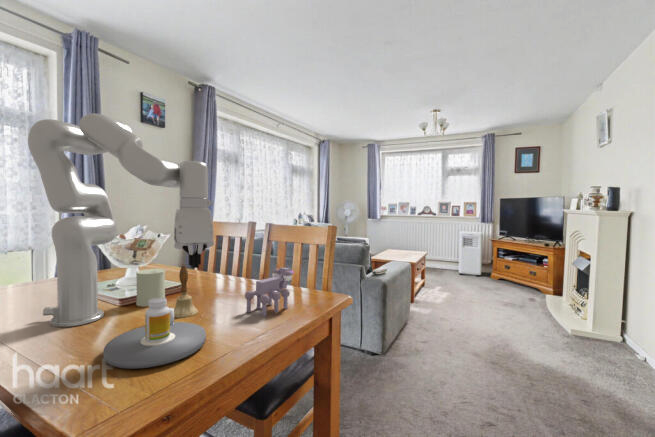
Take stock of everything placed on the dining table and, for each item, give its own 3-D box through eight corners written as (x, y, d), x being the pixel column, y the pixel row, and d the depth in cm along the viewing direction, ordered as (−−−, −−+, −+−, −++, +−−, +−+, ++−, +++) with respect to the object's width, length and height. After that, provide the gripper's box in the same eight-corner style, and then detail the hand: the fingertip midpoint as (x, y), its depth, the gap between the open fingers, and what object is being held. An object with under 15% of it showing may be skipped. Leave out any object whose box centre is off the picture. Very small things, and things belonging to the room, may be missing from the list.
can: (144, 308, 105) (144, 273, 104) (130, 303, 110) (130, 270, 109) (170, 301, 113) (170, 269, 112) (156, 297, 117) (156, 266, 117)
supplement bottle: (174, 336, 78) (174, 298, 77) (155, 344, 73) (154, 304, 72) (160, 332, 80) (160, 295, 80) (140, 340, 75) (140, 301, 75)
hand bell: (187, 319, 96) (187, 268, 95) (164, 316, 98) (164, 267, 97) (203, 310, 104) (203, 263, 103) (181, 308, 106) (181, 262, 105)
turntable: (83, 373, 63) (83, 347, 63) (126, 330, 85) (126, 310, 84) (197, 362, 68) (197, 338, 68) (211, 324, 90) (211, 305, 90)
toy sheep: (283, 297, 120) (285, 263, 119) (304, 304, 114) (306, 268, 113) (241, 311, 104) (243, 271, 103) (263, 320, 97) (265, 278, 96)
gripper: (216, 204, 96) (217, 262, 97) (163, 204, 87) (163, 268, 88) (224, 204, 90) (224, 266, 91) (167, 204, 81) (168, 273, 82)
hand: (194, 267), depth 89 cm, fingers closed
